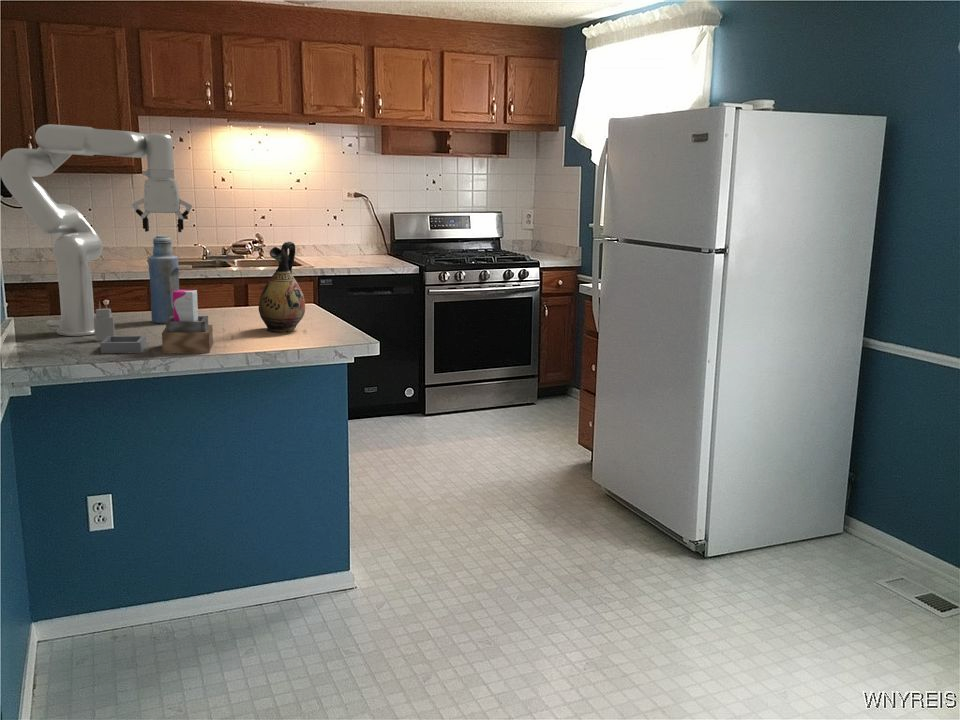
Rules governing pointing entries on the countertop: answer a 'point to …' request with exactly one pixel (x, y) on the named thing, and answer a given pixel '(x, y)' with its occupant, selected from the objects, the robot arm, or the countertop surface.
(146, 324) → the countertop surface
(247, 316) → the countertop surface
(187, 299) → the supplement box
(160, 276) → the bottle
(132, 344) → the low collar
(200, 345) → the raised dock
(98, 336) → the power adapter
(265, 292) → the ceramic jug
